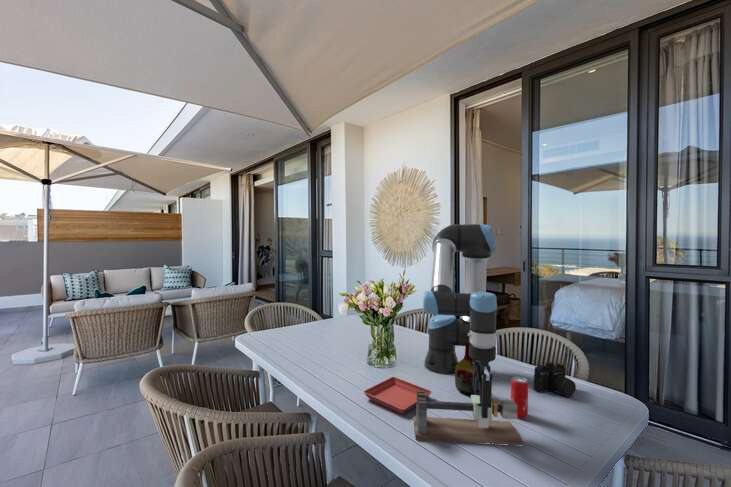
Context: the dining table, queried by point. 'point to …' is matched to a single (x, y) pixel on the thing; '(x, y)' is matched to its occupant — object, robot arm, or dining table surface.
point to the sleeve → (476, 400)
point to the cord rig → (465, 423)
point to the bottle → (465, 373)
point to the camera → (553, 379)
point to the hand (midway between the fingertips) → (480, 421)
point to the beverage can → (520, 395)
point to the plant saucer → (395, 394)
